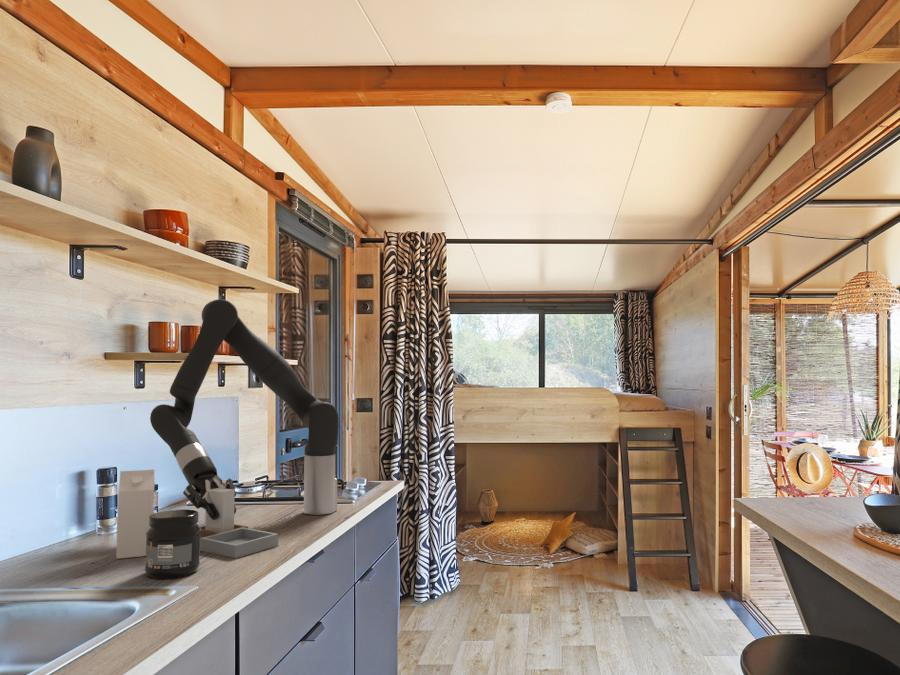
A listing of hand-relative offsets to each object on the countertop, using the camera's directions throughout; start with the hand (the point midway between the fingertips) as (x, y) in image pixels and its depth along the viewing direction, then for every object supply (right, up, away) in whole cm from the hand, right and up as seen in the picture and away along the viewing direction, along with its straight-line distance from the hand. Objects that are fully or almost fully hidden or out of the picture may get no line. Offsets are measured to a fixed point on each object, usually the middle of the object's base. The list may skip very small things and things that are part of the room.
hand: (225, 515), depth 159 cm
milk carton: (-16, -5, -14) cm, 22 cm away
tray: (+7, -5, -9) cm, 13 cm away
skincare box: (-2, -6, +1) cm, 6 cm away
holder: (-2, -6, +1) cm, 6 cm away
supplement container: (-1, -4, -28) cm, 28 cm away
